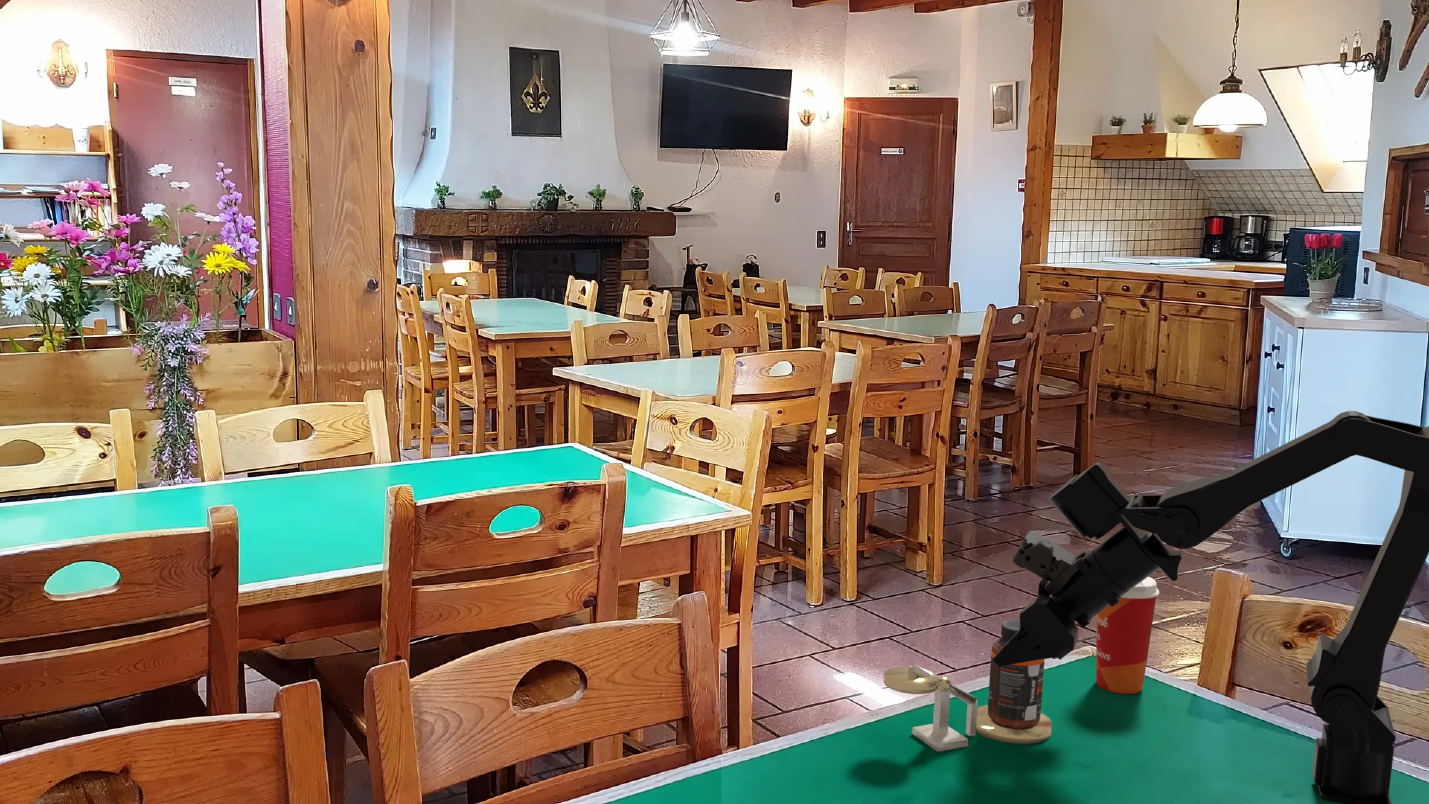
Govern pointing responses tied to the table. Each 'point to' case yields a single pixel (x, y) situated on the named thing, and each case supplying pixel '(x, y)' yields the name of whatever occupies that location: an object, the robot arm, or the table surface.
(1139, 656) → the paper cup
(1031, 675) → the supplement bottle
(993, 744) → the table surface
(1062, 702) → the table surface
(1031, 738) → the balance
